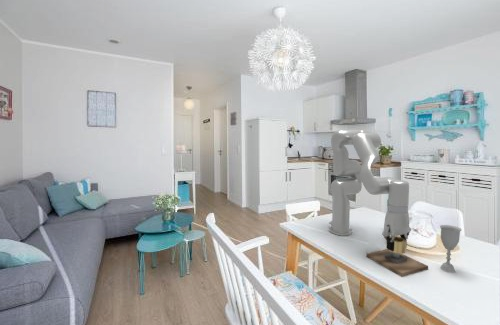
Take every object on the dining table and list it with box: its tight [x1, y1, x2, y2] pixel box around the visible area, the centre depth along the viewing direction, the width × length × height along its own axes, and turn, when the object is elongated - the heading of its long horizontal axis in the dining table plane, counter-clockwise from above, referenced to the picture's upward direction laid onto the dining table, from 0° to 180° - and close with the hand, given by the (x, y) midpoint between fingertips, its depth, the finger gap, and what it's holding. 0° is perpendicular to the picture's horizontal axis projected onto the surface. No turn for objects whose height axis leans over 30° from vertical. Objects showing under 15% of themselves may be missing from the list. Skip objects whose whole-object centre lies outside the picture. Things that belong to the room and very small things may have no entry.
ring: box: [388, 235, 407, 254], centre depth 107 cm, size 7×7×5 cm
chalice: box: [439, 224, 463, 274], centre depth 101 cm, size 7×7×18 cm
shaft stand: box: [365, 248, 429, 277], centre depth 108 cm, size 18×15×9 cm
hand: (396, 248), depth 108 cm, fingers closed on ring, 6 cm apart
